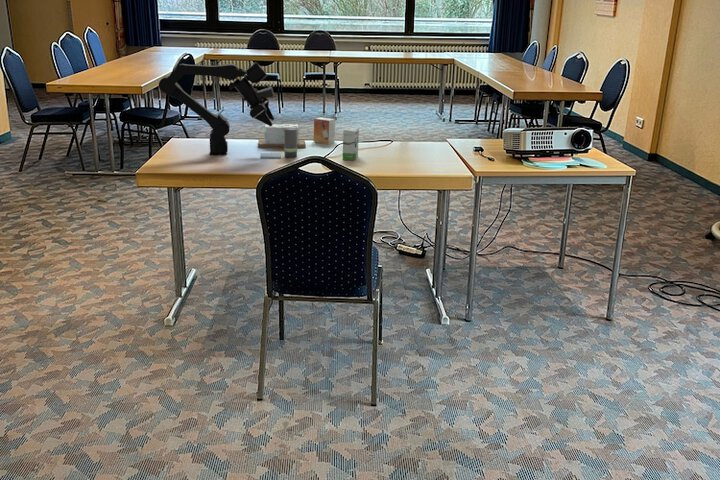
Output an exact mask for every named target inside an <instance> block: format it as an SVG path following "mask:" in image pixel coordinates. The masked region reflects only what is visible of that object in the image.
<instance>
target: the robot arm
mask: <svg viewBox="0 0 720 480" xmlns="http://www.w3.org/2000/svg"><path fill="white" fill-rule="evenodd" d="M186 75H187V76H205V77H206V76H207V77H217V78H221V79H224V80H228V81H229V90H230V91H231V90H232V89H234V88H235V89H236V90H237V92H238V93H239V95H240V96H241V98H243V99H242V100H243V101H244V102H246V103H247V104H248V106H249V109H250V110H249V116H250V117H251V118H252V119H255V120H258V121H259V122H261V123H263V124H267V125H269V126H272V125H273V124H274V123H272V121H274V120H275V117H274V115H273V113H272V111H271V109H270V106H269V105H270V99H269V98H272V97H273V98H274V97H275V92H274V88H273V86H269V85H268V84H264V85H263V89H260V90H258V88H257V87H256V88H254V86H253V84H255V85H257V84H259V83H260V82H261V81H262V80H264V79H266V77H268V74H267V73H266V71H265V69H263V67H261V65H260V64H259V63H258V62H256V61H255V62H254V63H253V64H252V65H251V66H250V67H249V68H247V69H244V68H239V66H237V64H235V63H226V64H225V63H224V64H219V65H208V64H207V65H206V64H205V65H204V64H186V63H180V64H179V65H178V66H177V67H176V68H175V69H174V71H173V72H171V73H170V74H169V75H168V76H167V75H166V76H163V77H162V78H161V79H160V80H159V82H158V88H159V90H160V91H161V92H163V93H164V94H166V95H168V96H170V97H172V98H173V99H176V100H178V101H179V102H181V103H182V104H183V105H185V106H186V107H187V108H188V109H189V110H191V111H192V112H193V113H195V114H196V115H198V117H200V118H201V119H202V120H204V121H205V122H206V123H207V125H208V126H209V127H210V128H211V131H210V133H209V155H210V156H211V155H213V156H214V155H215V156H217V155H219V156H220V155H221V156H223V155H224V156H225V155H227V153H229V152H228V151H229V149H228V141H227V137H225V136H226V135H228V134H229V133H230V128H231V126H230V123H229V121H228V118H227V117H224V115H222V113H220V112H219V113H218V114H215V113H212V111H210V109H208V108H206V107H205V106H204V105H203V104H202V103H200V102H199V101H198V100H196V99H195V98H193V96H191V95H190V94H188V92H186V91H185V90H184V89H183V88H182V86H181V85H180V84H179V83H178V82H179V80H180V79H182V77H184V76H186ZM240 78H241V79H240ZM233 80H234V81H233ZM232 81H233V82H232Z"/></svg>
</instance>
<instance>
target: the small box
mask: <svg viewBox="0 0 720 480" xmlns="http://www.w3.org/2000/svg"><path fill="white" fill-rule="evenodd" d="M335 138H336V118H327V117H322V116H320V117H316V118H313V142H315V143H321V144H325V145H330V144H333V143H335V141H336V139H335Z"/></svg>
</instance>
